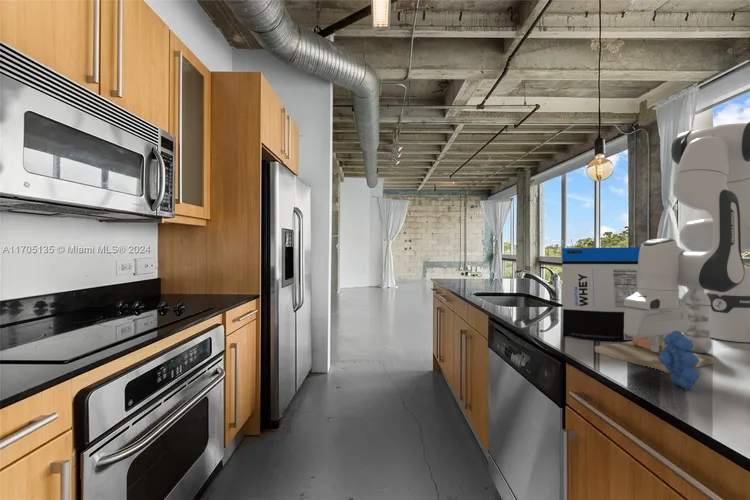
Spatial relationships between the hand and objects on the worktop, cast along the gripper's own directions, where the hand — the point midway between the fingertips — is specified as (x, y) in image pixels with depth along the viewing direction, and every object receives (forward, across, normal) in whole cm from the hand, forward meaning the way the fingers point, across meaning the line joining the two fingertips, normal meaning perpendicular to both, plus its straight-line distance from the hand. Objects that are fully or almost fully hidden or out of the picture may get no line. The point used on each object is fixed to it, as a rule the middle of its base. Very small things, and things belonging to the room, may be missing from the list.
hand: (657, 351), depth 103 cm
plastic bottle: (+3, -18, -1) cm, 18 cm away
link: (+1, -4, -2) cm, 4 cm away
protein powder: (+3, -9, -23) cm, 25 cm away
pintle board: (+3, -2, -3) cm, 5 cm away
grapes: (+3, +14, +13) cm, 19 cm away
